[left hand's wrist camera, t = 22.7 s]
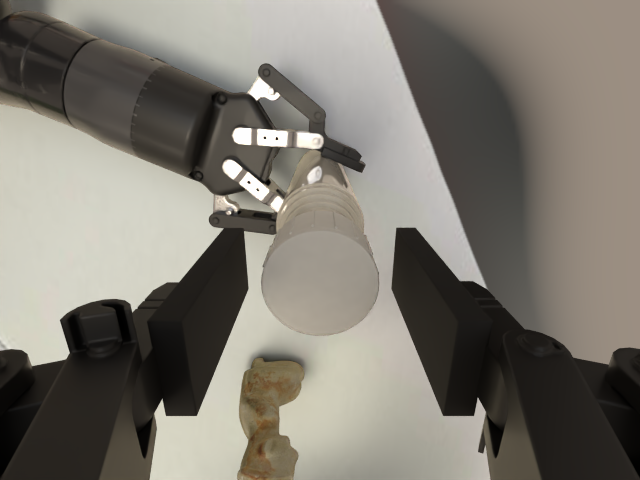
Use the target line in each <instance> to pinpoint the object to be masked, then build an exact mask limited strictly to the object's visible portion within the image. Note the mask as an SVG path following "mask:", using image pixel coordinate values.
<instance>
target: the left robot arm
mask: <svg viewBox="0 0 640 480" xmlns="http://www.w3.org/2000/svg"><path fill="white" fill-rule="evenodd" d="M247 291H248V276H247V264H246V252H245V239H244V228H224V229H223V230H222V231H221V233H220V234H219V235H218V236H217V237H216V239H215V240H214V241H213V242H212V244H211V245H210V246H209V247H208V248H207V250H206V251H205V252H204V253H203V254H202V256H201V257H200V258H199V259H198V260H197V262H196V263H195V264H194V265H193V266H192V268H191V269H190V270H189V271H188V272H187V274H186V275H185V276H184V277H183V278H182V280H181V281H180V282H179V283H166V284H164V285H162V286H160V287H159V288H157V289H155V290H153V291H152V292H151V294H150V295H149V296H148V297H147V298H146V299H145V301H143V302H142V303H141V304H140V305H139V306H138V309H136V310H135V311H134V312H133V313H132V310H131V305H130V304H129V303H128V302H126V301H125V300H119V299H107V300H100V301H95V302H91V303H88V304H85V305H83V306H80V307H77V308H76V309H74V310H72V311H70V312H68V313H67V314H66V315H65V316H64V317H63V318H62V319H60V322H61V325H62V329H63V332H64V335H65V338H66V342H67V345H68V348H69V352H70V354H69V356H68V357H67V359H66V360H62V361H57V362H52V363H47V364H41V365H36V366H31V363H30V360H29V357H28V355H27V353H25V352H24V351H22V350H14V349H10V350H3V351H0V480H149V479H150V472H151V465H152V458H153V451H154V444H155V437H156V430H157V427H156V420H155V415H154V413H155V411H156V409H157V407H158V405H159V403H160V402H161V400H162V398H163V403H164V408H165V413H166V416H197V414H198V412H199V409H200V407H201V404H202V402H203V399H204V397H205V394H206V392H207V389H208V387H209V385H210V382H211V380H212V377H213V375H214V372H215V370H216V367H217V365H218V362H219V360H220V357H221V355H222V353H223V350H224V348H225V345H226V343H227V340H228V338H229V335H230V333H231V330H232V328H233V326H234V323H235V321H236V318H237V316H238V313H239V311H240V308H241V306H242V303H243V301H244V298H245V296H246V294H247ZM392 291H393V294H394V296H395V299H396V301H397V303H398V306H399V308H400V311H401V313H402V316H403V318H404V321H405V323H406V326H407V328H408V330H409V333H410V335H411V338H412V340H413V343H414V345H415V348H416V350H417V353H418V355H419V357H420V360H421V362H422V365H423V367H424V370H425V372H426V375H427V377H428V380H429V382H430V385H431V387H432V389H433V392H434V394H435V397H436V399H437V402H438V404H439V407H440V409H441V412H442V414H443V416H474V413H475V408H476V403H477V398H479V400H480V402H481V403H482V405H483V407H484V409H485V411H486V415H485V420H484V424H483V429H482V434H481V438H480V443H479V449H478V452H480V453H483V452H484V448H485V445H486V450H487V457H488V464H489V471H490V478H491V480H640V349H636V348H620V349H617V350H616V351H615V352H613V355H612V357H611V360H610V363H609V365H607V364H602V363H597V362H592V361H587V360H581V359H577V358H573V357H572V355H571V353H570V352H569V351H568V349H567V348H566V347H565V346H564V345H563V344H561V343H560V342H558V341H557V340H555V339H554V338H552V337H550V336H547V335H545V334H543V333H539V332H536V331H531V330H525V329H524V328H523V327H522V326H521V325H520V324H519V323H518V322H517V321H516V320H515V319H514V317H513V316H512V315H511V314H510V313H509V312H508V311H507V310H506V309H505V308H503V307H502V305H501V304H500V303H499V302H498V301H497V300H495V297H494V296H493V295H492V294H491V293H490V292H489V291H488V290H487V289H486V288H484V287H482V286H480V285H478V284H477V283H475V282H473V281H459V280H458V278H457V277H456V276H455V275H454V274H453V272H452V271H451V270H450V269H449V268H448V266H447V265H446V264H445V263H444V262H443V260H442V259H441V258H440V257H439V256H438V254H437V253H436V252H435V251H434V250H433V248H432V247H431V246H430V245H429V244H428V242H427V241H426V240H425V239H424V237H423V236H422V235H421V234H420V233H419V231H418V230H417V229H416V228H396V239H395V252H394V264H393V276H392Z"/></svg>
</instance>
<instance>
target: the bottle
mask: <svg viewBox="0 0 640 480" xmlns="http://www.w3.org/2000/svg"><path fill="white" fill-rule="evenodd" d="M312 210H315V211H331V212H333V211H334V212H336V213H338V214H340V215H343V216H345V217H346V218H348V219H350V220H351V221H352V220H353V221H354V223H355V224H356V225H357V226H358V227H359V229H360V230H361V231H362V233H364V219H363V214H362V211H361V208H360V206H359V203H358V201H357V199H356V196H355V194H354V192H353V189H352V187H351V185H350V182H349V180H348V178H347V175H346V173H345V171H344V168H343V166H342V164H340V163H337V162H335V161H333V160H331V159H328V158H326V157H324V156H321V155H320V152H319V151H317V150H315V149H312V150H310V151H308V152H307V153H305V154H304V155H303V156H302V158H301V159H300V161H299V163H298V166H297V168H296V171H295V173H294V175H293V178H292V180H291V182H290V185H289V187H288V190H287V192H286V194H285V197H284V199H283V201H282V204H281V206H280V209H279V211H278V214H277V220H276V232H277V231H278V229H281V228H282V227H283V226H284V225H285V224H286V223H287V222H288V221H289V220H291V219H292V218H293V217H294V216H295V217H296V216H298V215H300V214H303V213H306V212H310V211H312Z"/></svg>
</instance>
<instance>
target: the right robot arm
mask: <svg viewBox="0 0 640 480" xmlns="http://www.w3.org/2000/svg"><path fill="white" fill-rule="evenodd" d="M258 74H259V76H258V77H257V79H256V80H255V82H254V83H253V85H252V86H251V88H250V89H249V91H248V92H247V93H231V92H228V91H226V90H224V89H221V88H219V87H217V86H215V85H212V84H210V83H208V82H206V81H203V80H201V79H199V78H197V77H195V76H192V75H190V74H188V73H186V72H183V71H181V70H179V69H176V68H174V67H172V66H170V65H168V64H167V63H165V62H164V61H162V60H160V59H158V58H152V57H150V56H148V55H145V54H143V53H141V52H138V51H136V50H133V49H130V48H127V47H123V46H120V45H116V44H113V43H111V42H108V41H105V40H103V39H101V38H98V37H96V36H94V35H92V34H89V33H87V32H85V31H83V30H80V29H78V28H76V27H74V26H71V25H69V24H68V23H65V22H63V21H61V20H58V19H56V18H54V17H51V16H49V15H46V14H43V13H39V12H34V11H20V12H15V13H12V10H11V6H10V2H9V0H0V104H2V105H8V106H14V107H19V108H24V109H28V110H31V111H34V112H36V113H39V114H41V115H44V116H46V117H49V118H51V119H54V120H56V121H58V122H61V123H63V124H66V125H68V126H71V127H73V128H76V129H78V130H80V131H82V132H85V133H87V134H88V135H90V136H92V137H94V138H96V139H97V140H99V141H101V142H103V143H105V144H107V145H109V146H111V147H114V148H116V149H119V150H121V151H124V152H126V153H128V154H131V155H133V156H136V157H138V158H141V159H143V160H146V161H148V162H151V163H153V164H156V165H158V166H161V167H163V168H166V169H168V170H171V171H173V172H175V173H178V174H180V175H183V176H185V177H188V178H190V179H193V180H196V181H198V182H200V183H202V184H203V185H205V186H206V187H207V188H208V189H209V191H210V192H211V193H213V194H214V211H213V214H212V215H211V216H210V217H209V223H210V224H211V225H212V226H213V227H218V228H244V231H248V232H256V233H263V234H271V235H274V234H277V232H276V220H277V214H278V211H279V209H280V206H281V204H282V201H283V199H284V197H285V194H286V193H285V192H284V191H283V190H281V189H280V188H279V186H278V185H277V184H276V183H275V182H274V181H273V180H272V179H271V178H269V176H270V173H271V170H272V161H273V159H274V158H275V156H276V155H277V154H278V152H279V149H280V147H286V148H306V149H315V150H317V151H319V152H320V155H321V156H324V157H326V158H328V159H331V160H333V161H335V162H337V163H340V164H342V165H344V166H347V167H349V168H351V169H353V170H356V171H358V172H361V173H362V172H363V170H364V167H365V164H364V163H363V162H362V161H360V159H361V157H362V156H361V155H360V154H359V153H358V152H357V151H356V150H355V149H353V148H351V147H349V146H346V145H344V144H342V143H340V142H337V141H335V140H333V139H331V138H329V137H327V135H326V134H325V131H324V128H325V117H326V114H325V111H324V110H323V109H322V108H321V107H320V106H319V105H317V104H316V103H315V102H314V101H313V100H311V99H310V98H309V97H308V96H307V95H306V94H304V93H303V92H302V91H301V90H300V89H298V88H297V87H296V86H295V85H294V84H293V83H291V82H290V81H289V80H288V79H287V78H285V77H284V76H283V75H282V74H281V73H280V72H278V71H277V70H276V69H275V68H274V67H273V66H271V65H270V64H262V65H261V66H260V67H259V70H258ZM281 96H282V97H283V98H284V99H286V100H287V101H288V102H289V103H290V104H292V105H293V106H294V107H295V108H296V109H298V110H299V111H300V112H301V113H302V114H304V115H305V116H306V117H307V118H308V119H309V131H302V130H294V129H282V128H275V127H274V125H273V123H272V122H271V120H270V119H269V117H268V115H267V114H266V112H265V110H264V109H263V107H262V105H261V104H260V102H259V100H260V99H262V98H268V99H270V100H278V99H279V98H280V97H281ZM257 188H259V190H258V189H257ZM247 190H248V191H249V192H250V193H251V194H252V195H254V196H255V197H256V198H257V199H258V200H260V201H261V202H262V203H264V204H267V205H268V206H270V207H271V208H272V209H273V210H274V211H275V212H274V213H269V212H262V211H254V210H247V209H240V206H239V204H238V203H237V202H234V201H232V200H230V199H229V197H228V195H229V194H234V193H238V192H242V191H247Z"/></svg>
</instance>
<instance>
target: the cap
mask: <svg viewBox="0 0 640 480" xmlns="http://www.w3.org/2000/svg"><path fill="white" fill-rule="evenodd" d="M372 255H373V253H372V250H371V248H370V245H369V242H368V240H367V237H366V235H364V234H363V233H362V231H361V230H360V229H359V227H358V226H357V225H356V224H355V223H354V221H353V220H352V221H351V220H350V219H348V218H346V217H345V216H343V215H340V214H338V213H336V212H334V211H333V212H331V211H315V210H312V211H310V212H306V213H303V214H300V215H298V216H296V217H295V216H294V217H293V218H292V219H291V220H289V221H288V222H287V223H286V224H285V225H284V226H283V227H282V228H281V229H278V231H277V234H276V237H275V239H274V241H273V244H272V246H270V248H269V251H268V253H267V256H266V259H265V261H264V264H263V267H264V269H263V273H262V280H261V286H262V293H263V297H264V300H265V302H266V304H267V306H268V308H269V310H270V311H271V312H272V314H273V315H274V316H275V317H276V318H277V319H278V320H279V321H280V322H281V323H283V324H284V325H286V326H287V327H289V328H291V329H293V330H295V331H297V332H300V333H304V334H308V335H315V336H325V335H332V334H337V333H340V332H343V331H346V330H348V329H350V328H352V327H353V326H355V325H356V324H358V323H359V322H360V321H361V320H363V319H364V318H365V316H366V315H367V314H368V313H369V312H370V310H371V309H372V307H373V305H374V303H375V301H376V298H377V295H378V290H379V272H378V270H377V267H376V264H375V262H374V259H373V256H372Z"/></svg>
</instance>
